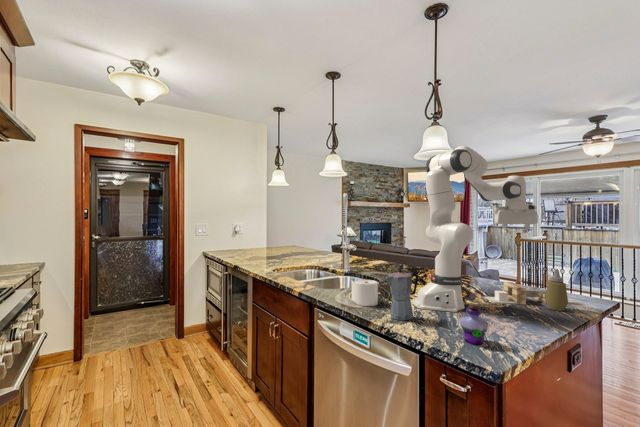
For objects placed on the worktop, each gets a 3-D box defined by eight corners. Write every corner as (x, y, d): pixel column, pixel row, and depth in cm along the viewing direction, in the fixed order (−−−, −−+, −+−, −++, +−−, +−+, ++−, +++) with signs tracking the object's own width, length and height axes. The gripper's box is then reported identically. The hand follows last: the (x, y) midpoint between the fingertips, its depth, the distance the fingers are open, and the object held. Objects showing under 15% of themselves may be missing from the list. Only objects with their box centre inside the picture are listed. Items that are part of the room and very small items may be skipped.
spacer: (507, 301, 144) (499, 301, 145) (503, 298, 149) (494, 298, 149) (508, 293, 144) (499, 292, 145) (503, 290, 149) (494, 290, 149)
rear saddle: (545, 304, 142) (545, 295, 142) (534, 299, 150) (534, 291, 150) (554, 304, 142) (554, 295, 142) (543, 299, 149) (543, 291, 150)
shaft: (516, 297, 145) (516, 280, 145) (511, 294, 149) (511, 278, 149) (559, 298, 143) (559, 281, 143) (553, 295, 147) (553, 279, 147)
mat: (494, 303, 143) (494, 302, 143) (484, 297, 153) (484, 296, 153) (515, 303, 142) (515, 302, 142) (504, 297, 152) (504, 297, 152)
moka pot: (379, 315, 123) (380, 267, 123) (409, 311, 129) (409, 265, 129) (394, 323, 114) (394, 271, 115) (425, 318, 120) (425, 268, 121)
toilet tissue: (379, 306, 135) (379, 284, 135) (352, 306, 136) (353, 284, 136) (375, 300, 146) (375, 279, 146) (351, 299, 146) (351, 279, 147)
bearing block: (517, 304, 141) (517, 287, 141) (503, 297, 153) (503, 281, 153) (525, 304, 141) (526, 287, 141) (511, 297, 153) (511, 282, 153)
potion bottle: (470, 348, 93) (470, 309, 93) (453, 337, 102) (453, 302, 102) (494, 346, 95) (495, 308, 95) (476, 335, 103) (476, 301, 103)
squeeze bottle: (572, 312, 129) (572, 271, 129) (551, 311, 131) (551, 270, 131) (561, 307, 137) (561, 268, 137) (541, 306, 139) (541, 267, 139)
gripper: (498, 206, 154) (498, 232, 154) (539, 206, 153) (539, 233, 153) (492, 206, 161) (492, 232, 161) (532, 206, 159) (532, 232, 159)
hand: (515, 232), depth 157 cm, fingers open, 8 cm apart
